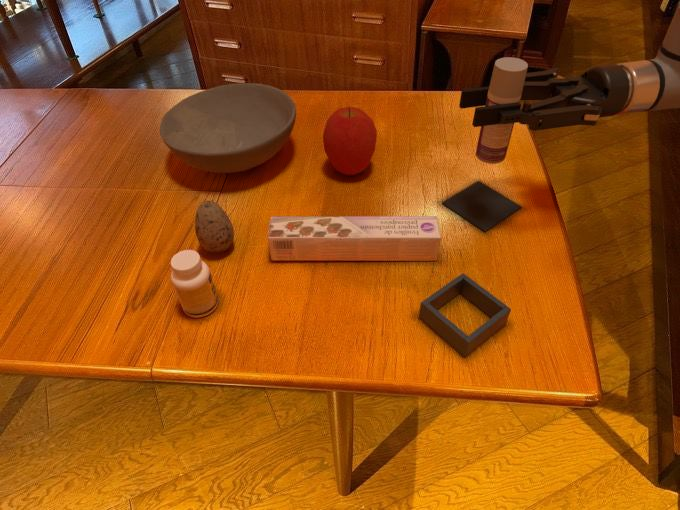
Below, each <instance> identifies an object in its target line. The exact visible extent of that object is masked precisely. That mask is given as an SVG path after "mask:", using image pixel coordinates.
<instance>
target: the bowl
mask: <svg viewBox="0 0 680 510" xmlns="http://www.w3.org/2000/svg"><path fill="white" fill-rule="evenodd" d="M296 119H297V107H296V103H295V102H294V99H293V98H292V97H291V96H290V95H289V94H288V93H286V92H285V91H284V90H282V89H279V88H277V87H275V86H272V85H268V84H264V83H256V82H255V83H254V82H242V83H241V82H239V83H229V84H224V85H218V86H214V87H211V88H210V87H209V88H207V89H205V90H201V91H198V92H196V93H194V94H191V95H189V96H187V97H185V98H183V99H181V100H180V101H179V102H178V103H176V104H175V105H174V106H172V107H171V108H170V109H169V110H167V112H166V113H165V114H164V115H163V116H162V118H161V122H160V125H159V135H160V137H161V139H162V141H163V143H164V145H165V146H166V147H167V148H168V149H169V150H170V151H171V152H172V153H173V154H174V155H175V156H176V157H177V158H178V159H180V160H181V161H183V162H184V163H186V164H187V165H188V166H190V167H193V168H196V169H198V170H201V171H205V172H210V173H216V174H233V173H235V174H236V173H241V172H245V171H248V170H251V169H253V168H255V167H258V166H260V165H263V164H264V163H265V162H267V161H269V160H270V159H272V158H273V157H274V156H276V154H277V153H278V152H280V150H282V148H283V147H284V146H285V145H286V144H287V142H288V140H289V138H290V136H291V134H292V132H293V130H294V127H295V124H296Z"/></svg>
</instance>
